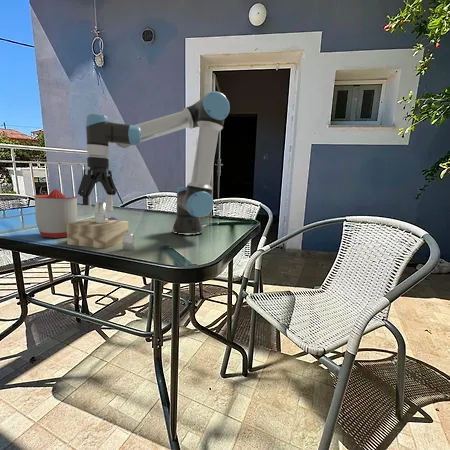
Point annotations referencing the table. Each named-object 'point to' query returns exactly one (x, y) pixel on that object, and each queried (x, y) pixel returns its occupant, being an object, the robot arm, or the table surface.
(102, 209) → the long pin
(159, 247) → the table surface
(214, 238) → the table surface
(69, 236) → the hole block
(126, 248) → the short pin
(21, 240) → the table surface
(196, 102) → the robot arm
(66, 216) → the citrus juicer
